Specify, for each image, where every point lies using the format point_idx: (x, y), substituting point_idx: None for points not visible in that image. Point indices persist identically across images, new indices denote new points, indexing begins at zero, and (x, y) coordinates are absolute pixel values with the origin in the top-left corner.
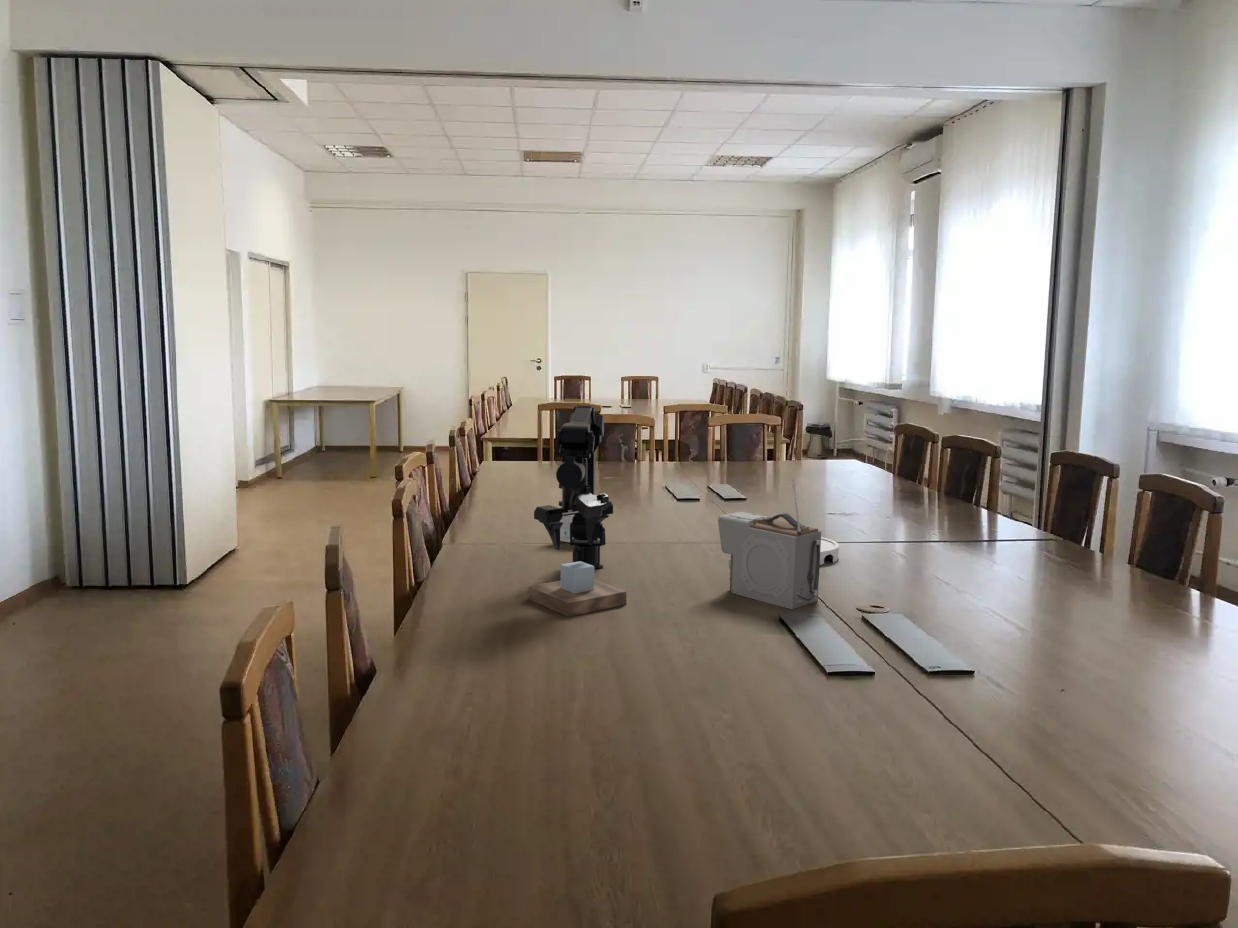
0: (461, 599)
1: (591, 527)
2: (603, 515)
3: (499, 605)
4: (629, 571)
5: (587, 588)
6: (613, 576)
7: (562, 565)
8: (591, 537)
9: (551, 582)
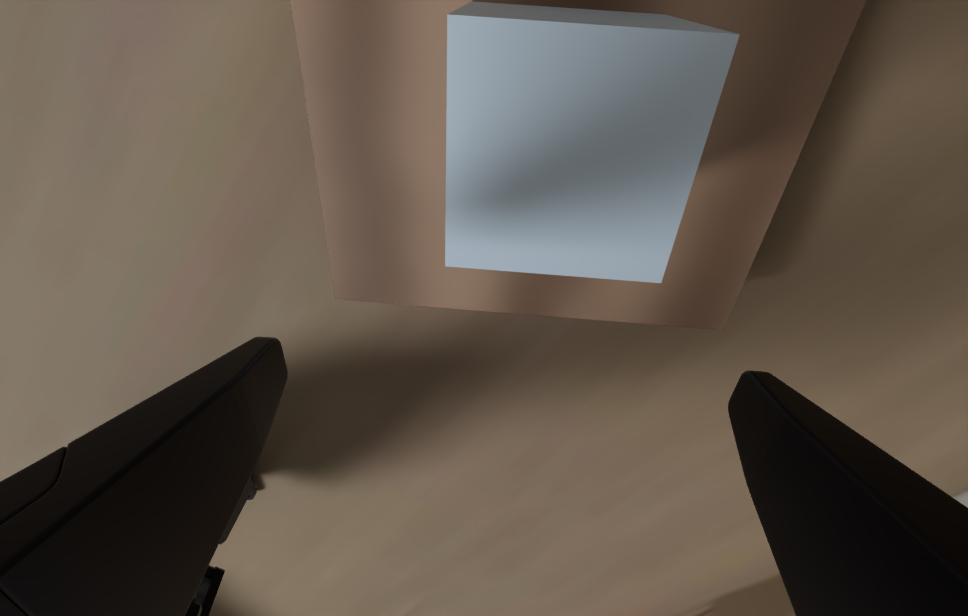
0: (886, 433)
1: (127, 547)
2: None
3: (884, 292)
4: (30, 336)
5: (536, 7)
6: (135, 322)
7: (667, 256)
8: (230, 394)
9: (575, 313)
